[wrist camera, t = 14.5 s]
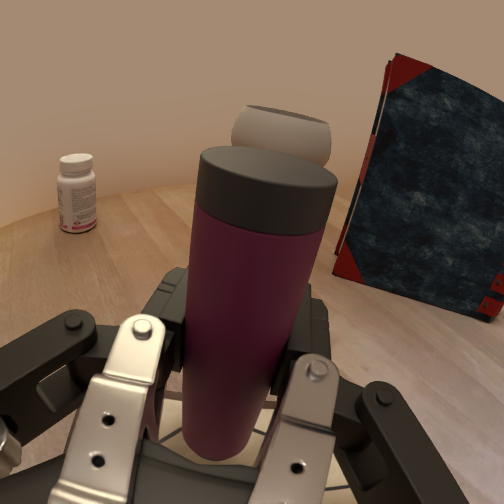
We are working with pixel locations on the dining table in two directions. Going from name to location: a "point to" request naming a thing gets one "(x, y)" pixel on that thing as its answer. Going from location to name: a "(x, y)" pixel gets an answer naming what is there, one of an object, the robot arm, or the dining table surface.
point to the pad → (170, 435)
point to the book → (430, 194)
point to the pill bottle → (77, 193)
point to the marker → (245, 285)
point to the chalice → (283, 133)
